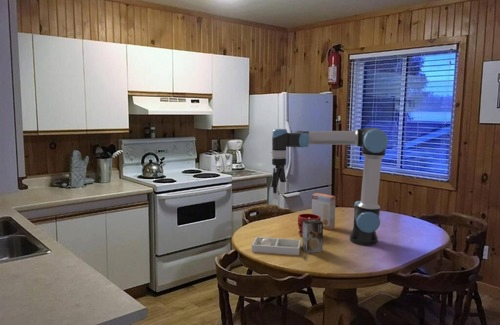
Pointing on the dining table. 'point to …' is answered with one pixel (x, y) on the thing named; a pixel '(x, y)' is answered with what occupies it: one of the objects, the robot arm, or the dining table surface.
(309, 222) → the coffee box
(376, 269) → the dining table surface
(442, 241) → the dining table surface
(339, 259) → the dining table surface
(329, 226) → the cracker box
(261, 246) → the divided tray
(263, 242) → the egg
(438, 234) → the dining table surface
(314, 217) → the plant pot
